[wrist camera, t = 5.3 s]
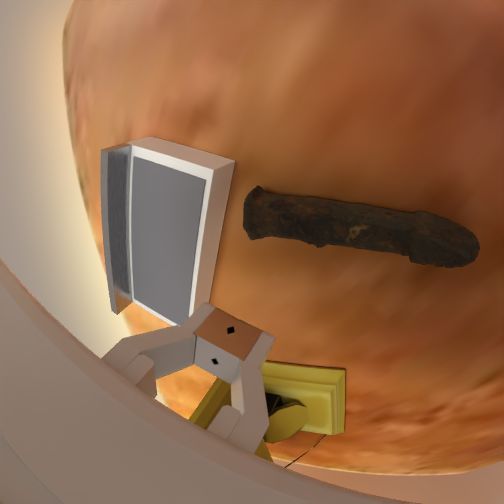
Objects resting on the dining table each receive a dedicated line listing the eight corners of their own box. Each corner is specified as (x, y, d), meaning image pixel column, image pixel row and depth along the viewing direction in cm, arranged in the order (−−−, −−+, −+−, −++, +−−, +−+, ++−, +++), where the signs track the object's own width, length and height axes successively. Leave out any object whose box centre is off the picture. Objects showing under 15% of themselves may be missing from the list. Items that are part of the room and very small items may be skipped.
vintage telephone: (343, 453, 41) (281, 597, 17) (271, 441, 47) (198, 568, 23) (344, 323, 28) (207, 624, 4) (226, 314, 35) (59, 521, 11)
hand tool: (259, 223, 27) (237, 249, 23) (257, 181, 25) (234, 202, 21) (463, 260, 20) (473, 294, 17) (476, 219, 18) (493, 249, 15)
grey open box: (235, 160, 25) (191, 179, 20) (206, 316, 36) (176, 352, 31) (150, 136, 28) (101, 149, 22) (145, 283, 39) (111, 310, 33)
